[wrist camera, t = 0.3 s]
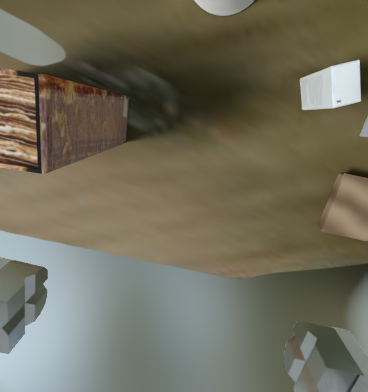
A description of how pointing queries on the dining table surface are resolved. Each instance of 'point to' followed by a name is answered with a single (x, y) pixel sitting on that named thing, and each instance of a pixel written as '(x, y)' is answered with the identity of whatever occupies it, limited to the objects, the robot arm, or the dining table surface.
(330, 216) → the tan flat square slab
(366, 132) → the grey stand
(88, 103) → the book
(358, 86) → the skincare box
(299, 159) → the dining table surface
